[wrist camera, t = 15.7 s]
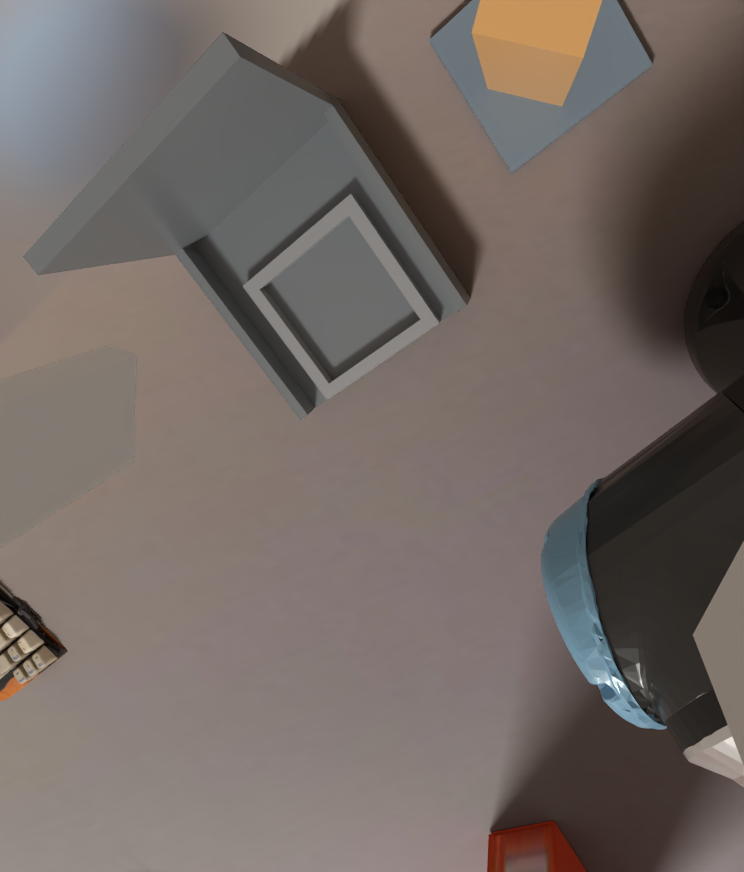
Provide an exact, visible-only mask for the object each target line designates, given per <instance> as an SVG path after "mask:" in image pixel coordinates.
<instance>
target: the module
mask: <svg viewBox="0 0 744 872" xmlns="http://www.w3.org/2000/svg"><path fill="white" fill-rule="evenodd" d="M601 3H602V0H480V2H479V6H478V10H477V14H476V18H475V21H474V25H473V29H472V36H473V39H474V43H475V46H476V50H477V53H478V57H479V60H480V64H481V68H482V71H483V75H484V78H485V82H486V85H487V89H491V90H495V91H499V92H503V93H507V94H512V95H516V96H520V97H524V98H528V99H533V100H537V101H541V102H545V103H549V104H554V105H558V106H563V103H564V101H565V99H566V96H567V94H568V92H569V90H570V87H571V85H572V83H573V80H574V78H575V76H576V74H577V71H578V69H579V67H580V64H581V62H582V60H583V57H584V54H585V51H586V48H587V45H588V42H589V39H590V36H591V33H592V30H593V27H594V24H595V21H596V18H597V15H598V12H599V9H600V6H601Z"/></svg>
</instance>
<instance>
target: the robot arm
mask: <svg viewBox="0 0 744 872" xmlns="http://www.w3.org/2000/svg"><path fill="white" fill-rule="evenodd" d="M685 337H686V344H687V348H688V351H689V354H690V357H691V360H692V362H693V364H694V366H695V368H696V370H697V371H698V373H699V374H700V376H701V377H702V378H703V380H704V381H705V382H706V383H707V384H708V385H709V386H710V387H711V388H712V389H713V390H714V391H715V392H716V393H717V395H715V396H714V397H713V398H711V399H710V400H709V401H707V402H706V403H705V404H703V405H702V406H701V407H699V408H698V409H696V410H695V411H694V412H692V413H691V414H690V415H688V416H687V417H686V418H684V419H683V420H682V421H680V422H679V423H678V424H676V425H675V426H674V427H672V428H671V429H670V430H668V431H667V432H666V433H664V434H663V435H662V436H660V437H659V438H658V439H656V440H655V441H654V442H652V443H651V444H650V445H648V446H647V447H646V448H644V449H643V450H641V451H640V452H639V453H637V454H636V455H635V456H633V457H632V458H631V459H629V460H628V461H627V462H625V463H624V464H623V465H621V466H620V467H619V468H617V469H616V470H615V471H613V472H612V473H611V474H609V475H608V476H607V477H605V478H602V479H598V480H596V481H595V482H594V483H593V484H591V485H590V486H589V488H588V489H587V490H586V492H585V494H584V496H583V497H582V498H580V499H579V500H578V501H577V502H576V503H574V504H573V505H572V506H571V507H570V508H569V509H567V510H566V511H565V512H564V513H563V514H561V515H560V516H559V517H558V518H557V519H556V520H555V521H554V522H553V523H552V524H551V526H550V527H549V529H548V531H547V533H546V535H545V540H544V548H543V550H542V553H541V570H542V578H543V583H544V588H545V592H546V596H547V600H548V603H549V606H550V608H551V611H552V614H553V617H554V619H555V622H556V624H557V627H558V629H559V631H560V633H561V636H562V638H563V640H564V642H565V644H566V646H567V648H568V650H569V652H570V653H571V655H572V657H573V659H574V660H575V662H576V664H577V665H578V667H579V668H580V670H581V671H582V673H583V674H584V676H585V677H586V679H587V680H588V681H589V683H591V684H594V685H598V687H599V689H600V692H601V695H602V698H603V700H604V701H605V702H606V703H607V705H608V706H609V707H610V708H611V709H612V710H613V711H615V712H616V713H617V714H618V715H619V716H621V717H622V718H623V719H625V720H626V721H628V722H630V723H632V724H634V725H636V726H637V727H641V728H646V729H647V728H654V729H658V730H662V729H667V728H668V730H669V731H670V733H671V735H672V736H673V738H674V740H675V741H676V743H677V745H678V746H679V748H680V749H681V751H682V753H683V754H684V756H685V757H686V758H687V760H688V761H689V762H691V763H693V764H696V765H698V766H701V767H703V768H705V769H708V770H710V771H713V772H715V773H718V774H720V775H723V776H725V777H728V778H730V779H732V780H734V781H735V782H737V783H738V784H739V785H741V786H742V787H744V222H743V223H741V224H740V225H739V226H738V227H736V228H735V229H734V230H733V231H732V232H731V233H729V234H728V235H727V236H726V237H725V238H724V239H723V240H722V241H721V242H720V244H719V245H718V246H717V247H716V248H715V249H714V251H713V252H712V253H711V254H710V256H709V257H708V259H707V260H706V261H705V263H704V265H703V266H702V268H701V269H700V271H699V273H698V275H697V277H696V279H695V281H694V284H693V286H692V289H691V292H690V294H689V298H688V302H687V307H686V313H685ZM136 366H137V354H135V353H132V352H128V351H125V350H121V349H117V348H114V347H110V346H107V345H106V346H103V347H100V348H97V349H94V350H91V351H88V352H85V353H82V354H79V355H76V356H73V357H70V358H67V359H64V360H61V361H58V362H55V363H51V364H48V365H45V366H42V367H39V368H36V369H33V370H30V371H27V372H24V373H21V374H18V375H15V376H12V377H9V378H6V379H3V380H0V548H2V547H3V546H5V545H6V544H8V543H9V542H11V541H12V540H14V539H16V538H17V537H19V536H20V535H22V534H23V533H25V532H26V531H28V530H29V529H31V528H33V527H34V526H36V525H37V524H39V523H40V522H42V521H43V520H45V519H46V518H48V517H50V516H51V515H53V514H54V513H56V512H57V511H59V510H60V509H62V508H63V507H65V506H67V505H68V504H70V503H71V502H73V501H74V500H76V499H77V498H79V497H81V496H82V495H84V494H85V493H87V492H88V491H90V490H91V489H93V488H94V487H96V486H98V485H99V484H101V483H102V482H104V481H105V480H107V479H108V478H110V477H111V476H113V475H115V474H116V473H118V472H119V471H121V470H122V469H124V468H125V467H127V466H128V465H130V464H132V463H133V462H134V432H135V399H136Z"/></svg>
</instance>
